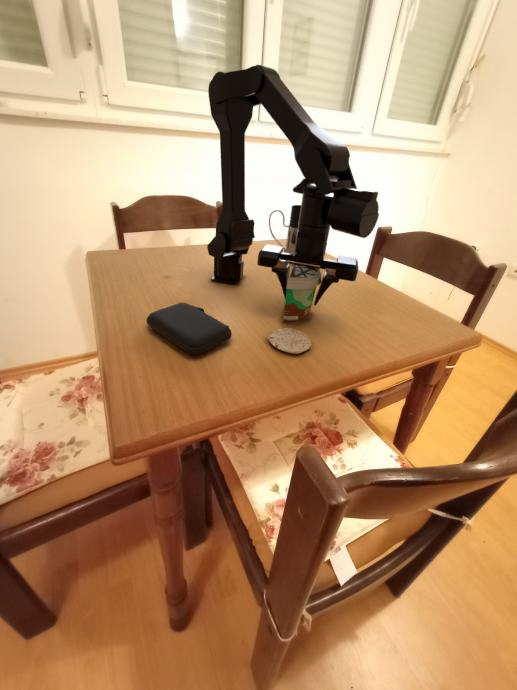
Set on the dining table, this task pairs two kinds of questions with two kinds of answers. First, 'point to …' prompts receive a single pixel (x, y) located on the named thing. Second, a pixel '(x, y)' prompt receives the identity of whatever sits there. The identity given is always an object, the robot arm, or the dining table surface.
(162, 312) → the carrying case
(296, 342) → the flatbread
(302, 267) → the food container
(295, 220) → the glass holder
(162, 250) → the dining table surface
